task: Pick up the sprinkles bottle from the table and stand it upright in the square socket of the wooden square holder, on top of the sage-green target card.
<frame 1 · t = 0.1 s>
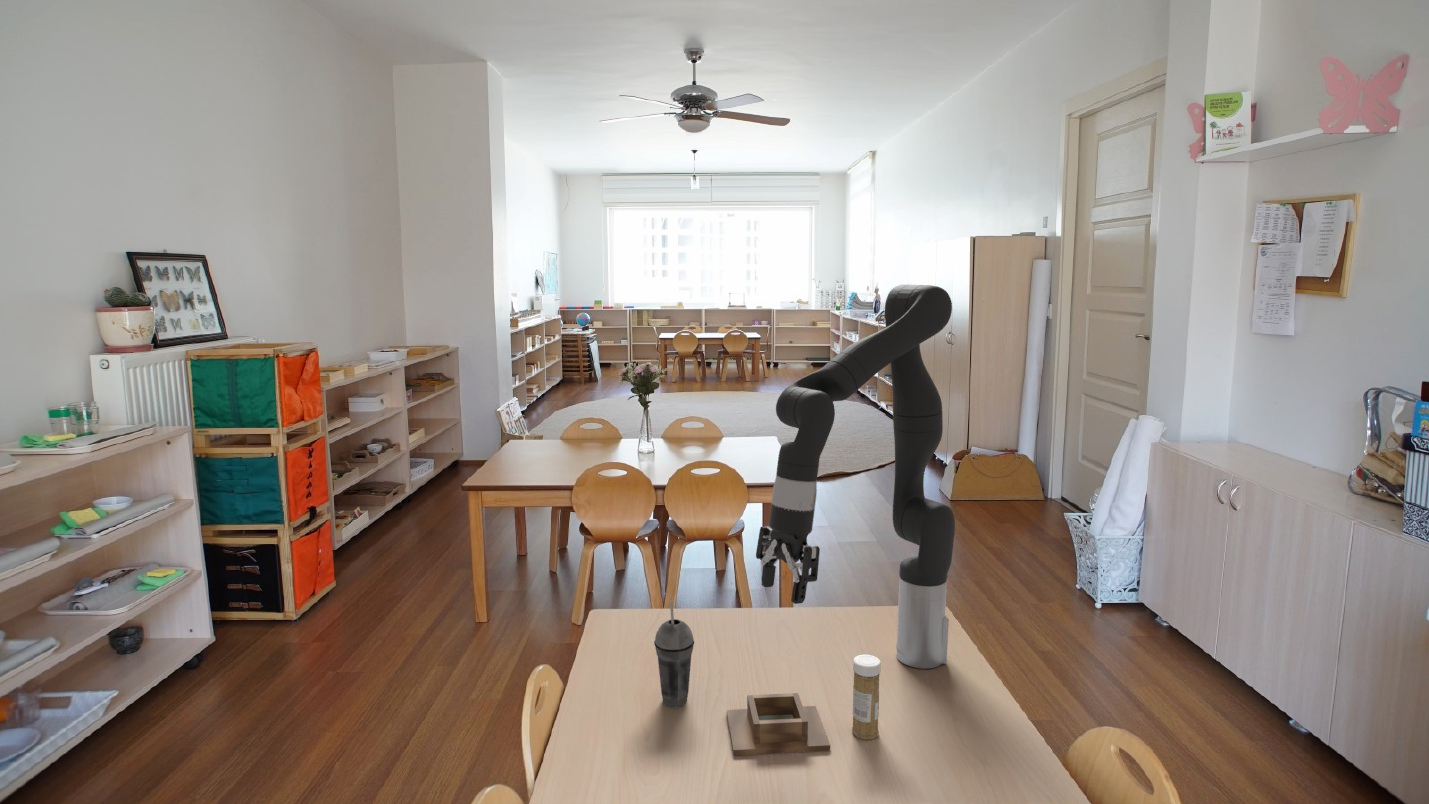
hand: (781, 594, 140), 22 cm above the table, tool pointing down, fingers open, 8 cm apart
wooden square holder: (776, 732, 137), on the table
sprinkles bottle: (864, 734, 137), on the table
beverage cup: (675, 702, 147), on the table
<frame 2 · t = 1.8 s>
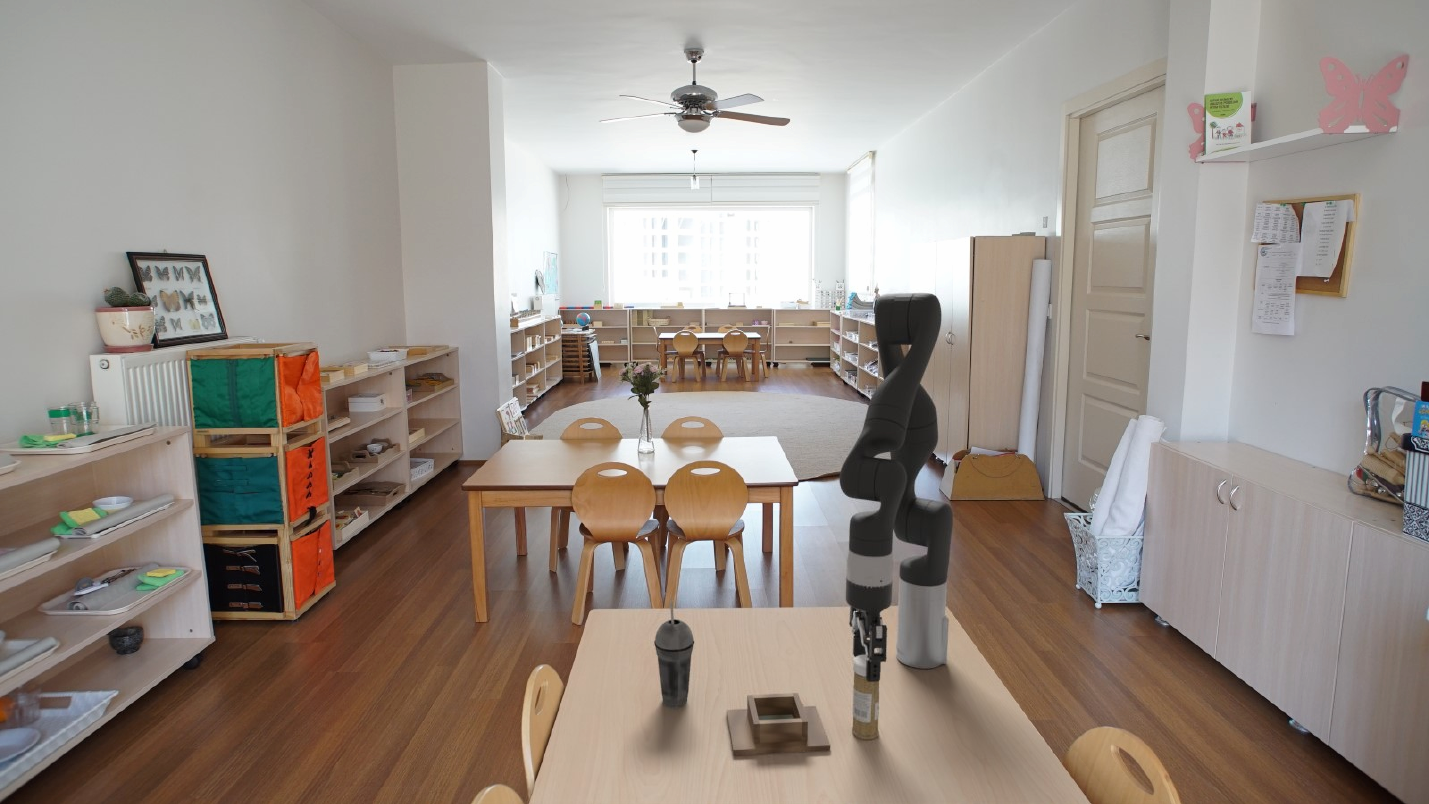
hand: (865, 668, 135), 12 cm above the table, tool pointing down, fingers open, 8 cm apart
nothing on the table moved.
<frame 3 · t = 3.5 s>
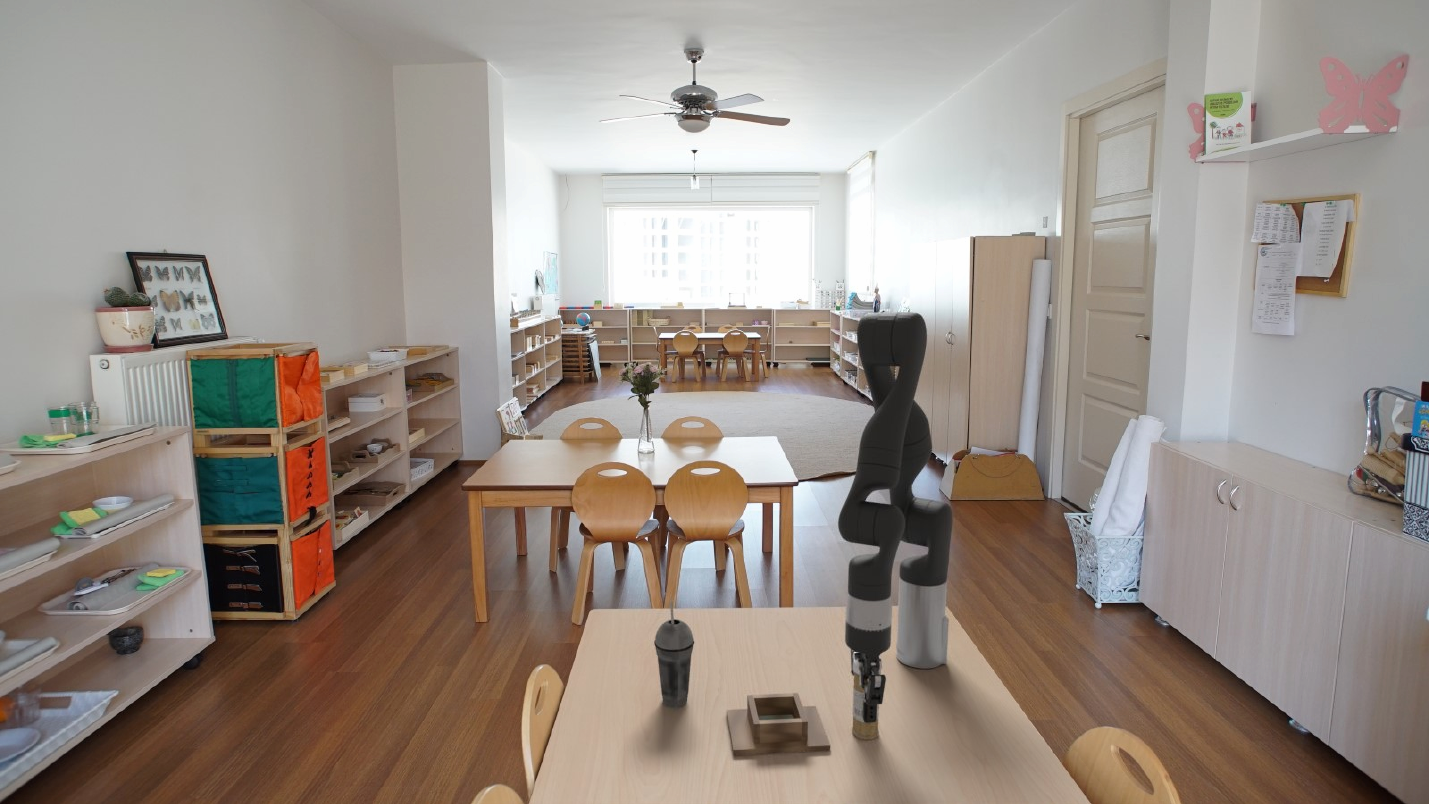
hand: (865, 712, 137), 4 cm above the table, tool pointing down, fingers closed on sprinkles bottle, 4 cm apart
sprinkles bottle: (864, 734, 137), on the table, touching gripper
everything else where it was.
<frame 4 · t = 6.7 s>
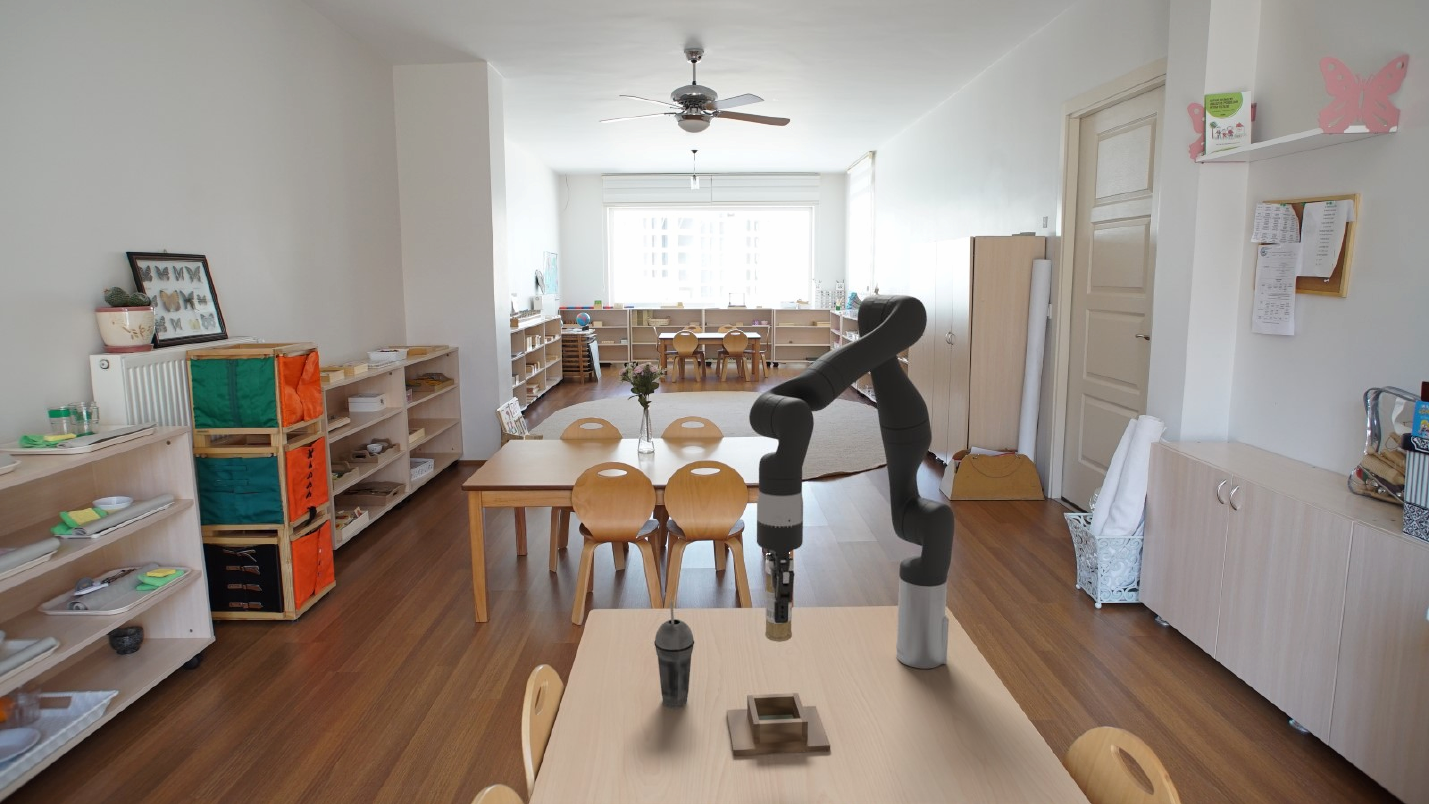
hand: (778, 615, 134), 21 cm above the table, tool pointing down, fingers closed on sprinkles bottle, 4 cm apart
sprinkles bottle: (778, 637, 134), point 17 cm above the table, touching gripper
everything else where it was.
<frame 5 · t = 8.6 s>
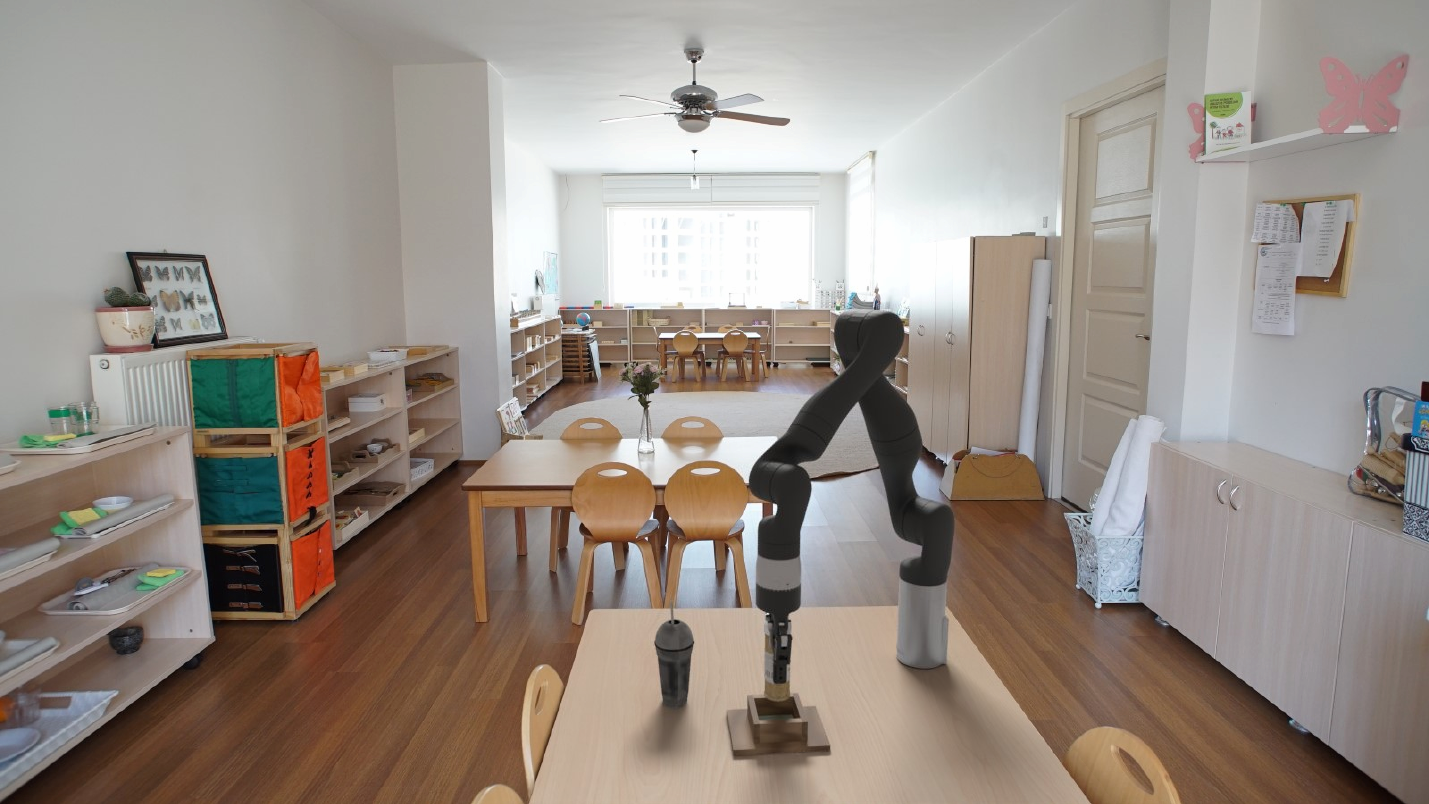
hand: (777, 674, 136), 11 cm above the table, tool pointing down, fingers closed on sprinkles bottle, 4 cm apart
sprinkles bottle: (776, 696, 136), point 7 cm above the table, touching gripper
everything else where it was.
when the fingers open (7 cm above the table, at t = 10.2 s): sprinkles bottle drops 2 cm, resting on wooden square holder.
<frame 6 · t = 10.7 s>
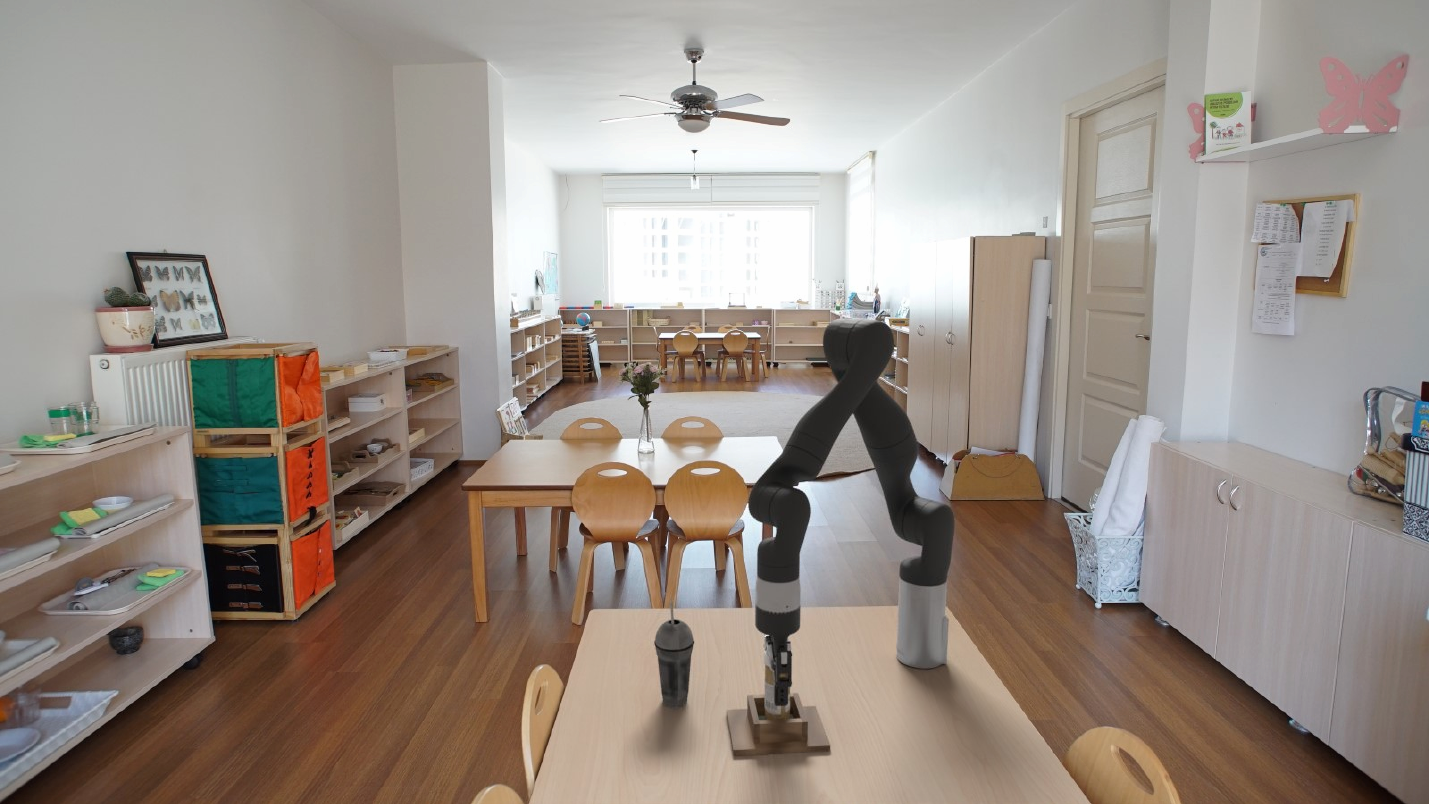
hand: (776, 691, 136), 8 cm above the table, tool pointing down, fingers open, 8 cm apart
sprinkles bottle: (776, 726, 137), point 1 cm above the table, touching wooden square holder
everything else where it was.
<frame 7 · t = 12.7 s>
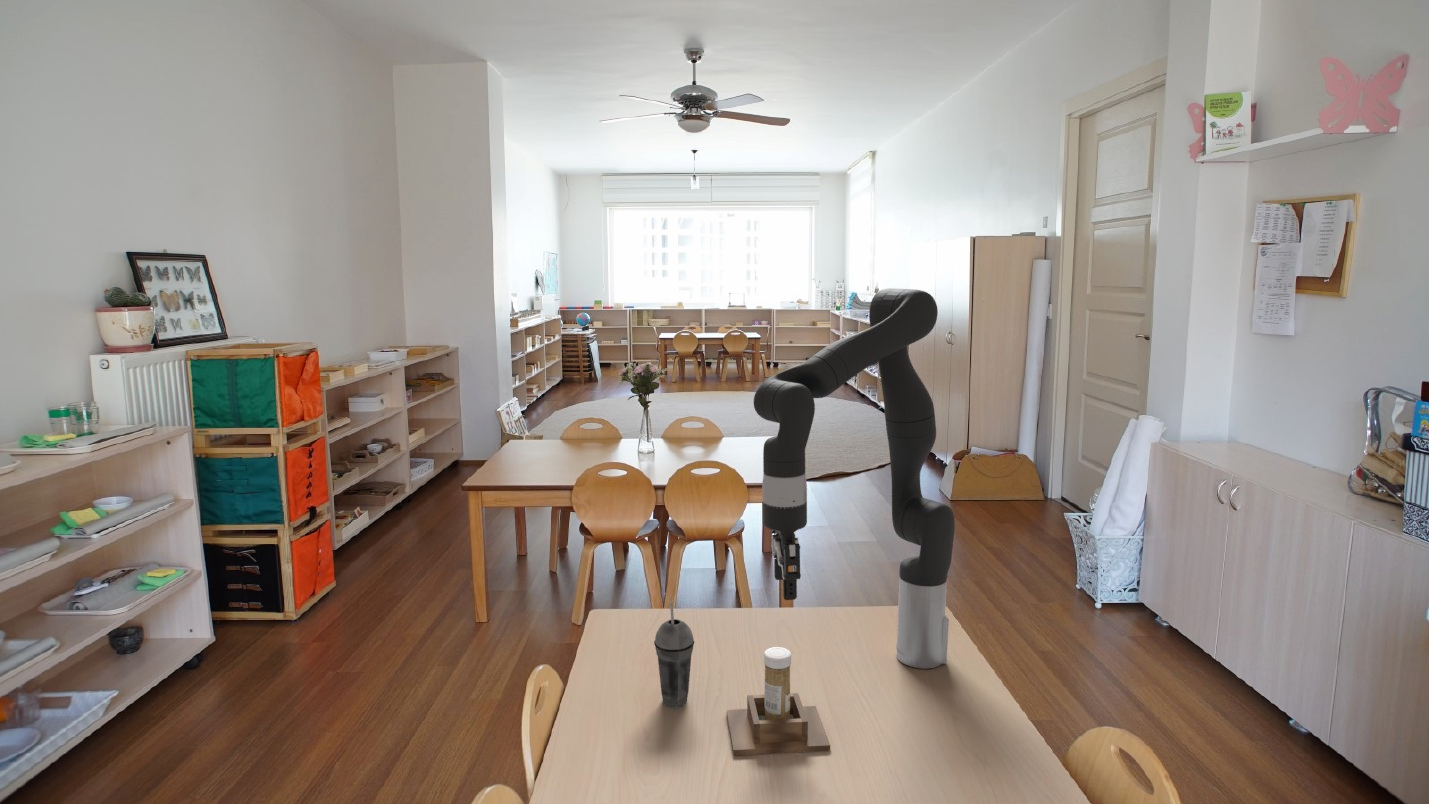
hand: (785, 588, 138), 24 cm above the table, tool pointing down, fingers open, 8 cm apart
nothing on the table moved.
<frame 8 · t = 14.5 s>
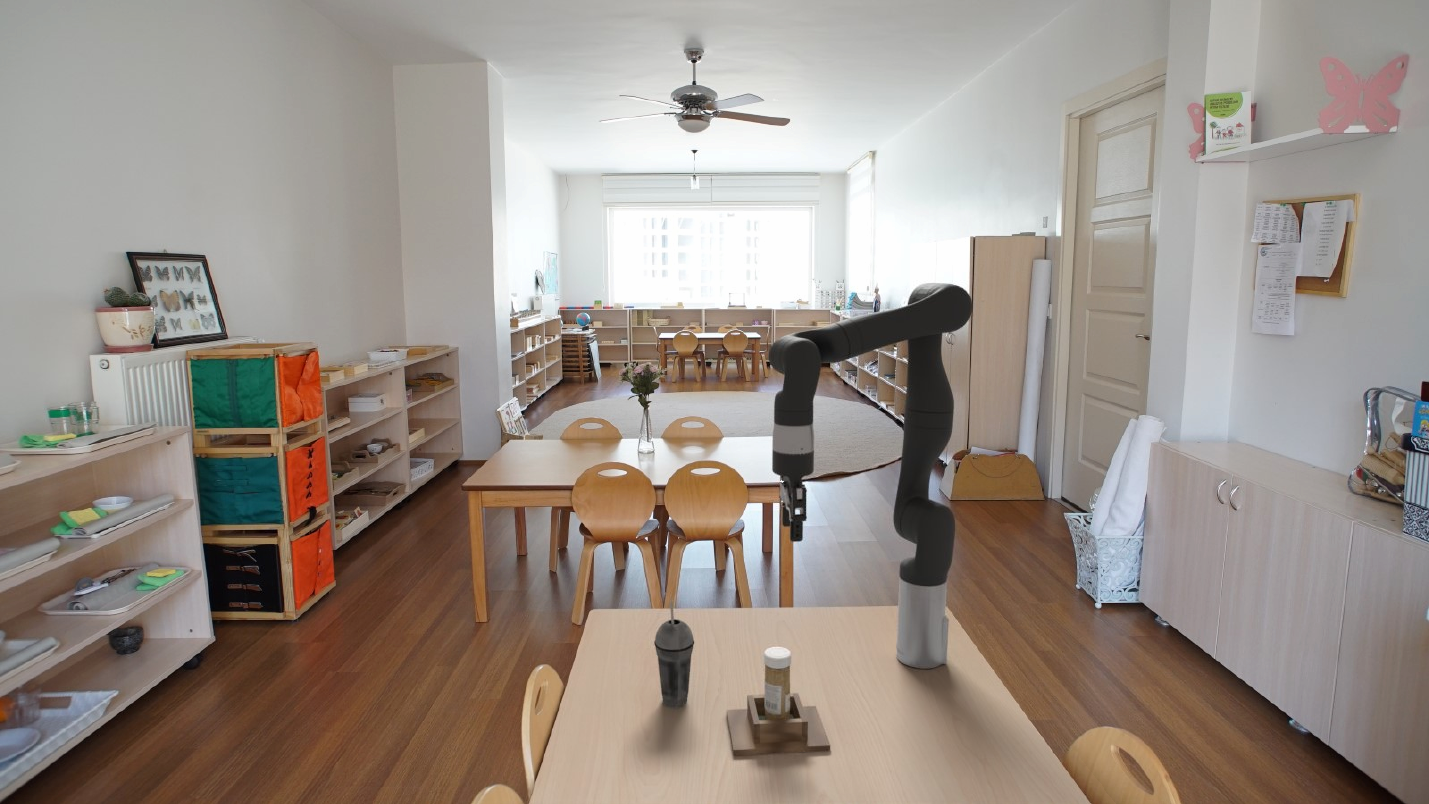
hand: (792, 533, 148), 30 cm above the table, tool pointing down, fingers open, 8 cm apart
nothing on the table moved.
at the end: sprinkles bottle 0.1 cm off-centre on the wooden square holder, point 1.0 cm above the wooden square holder's base; sprinkles bottle tilted 0°; the gripper is holding nothing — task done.
